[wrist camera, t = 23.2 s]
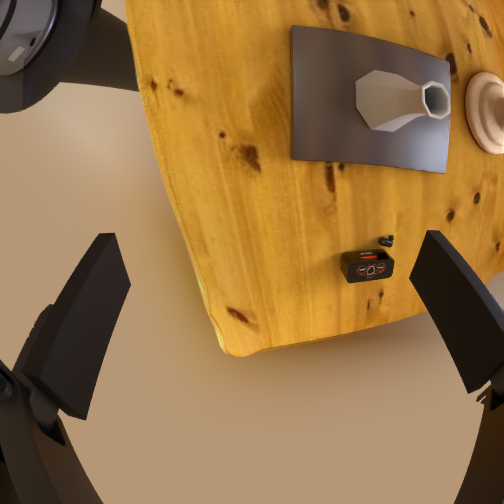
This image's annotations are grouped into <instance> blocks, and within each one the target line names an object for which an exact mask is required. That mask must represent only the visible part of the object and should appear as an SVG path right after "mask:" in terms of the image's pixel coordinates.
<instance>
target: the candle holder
mask: <svg viewBox="0 0 504 504" xmlns="http://www.w3.org/2000/svg"><path fill="white" fill-rule="evenodd" d="M465 108H466V116H467V120H468V124H469V127H470V130H471V132H472V134H473V136H474V138H475V140H476V141H477V143H478V144H479V145H480V146H481V147H482V148H483V149H484V150H486V151H487V152H489V153H491V154H502V153H504V83H503V82H502V81H501V80H500V79H499V78H498V77H497V76H495V75H493V74H491V73H487V72H482V73H478V74H476V75H475V76H474V77H473V78H472V79H471V80H470V82H469V84H468V87H467V90H466V97H465Z"/></svg>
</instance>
